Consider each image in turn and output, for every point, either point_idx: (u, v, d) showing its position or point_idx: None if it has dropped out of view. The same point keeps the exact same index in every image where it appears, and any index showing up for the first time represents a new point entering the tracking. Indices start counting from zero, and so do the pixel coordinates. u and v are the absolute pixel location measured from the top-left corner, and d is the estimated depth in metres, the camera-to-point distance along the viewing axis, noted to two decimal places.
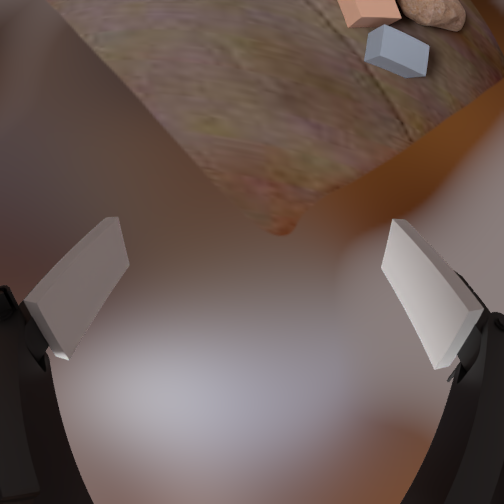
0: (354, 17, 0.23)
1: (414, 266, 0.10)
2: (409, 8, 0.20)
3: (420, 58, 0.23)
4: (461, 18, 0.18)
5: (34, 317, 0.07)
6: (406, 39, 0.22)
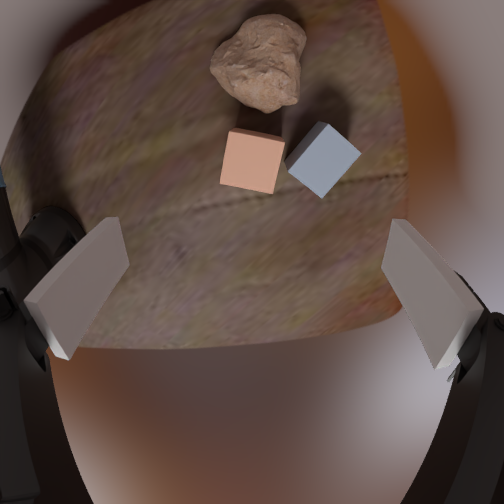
0: None
1: (413, 265, 0.10)
2: (269, 108, 0.27)
3: (340, 148, 0.27)
4: (293, 34, 0.21)
5: (34, 317, 0.07)
6: (312, 153, 0.28)
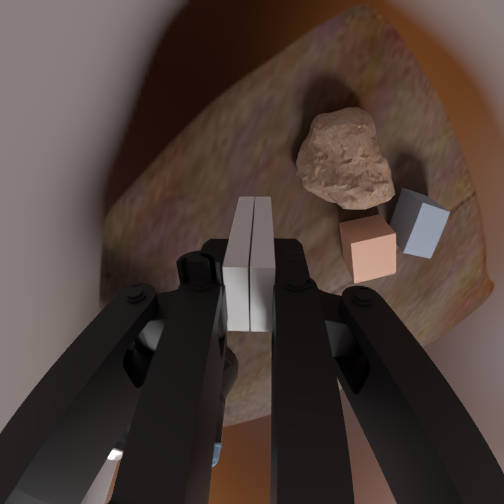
0: None
1: None
2: None
3: (435, 216, 0.29)
4: (371, 132, 0.25)
5: (228, 286, 0.09)
6: (417, 231, 0.30)
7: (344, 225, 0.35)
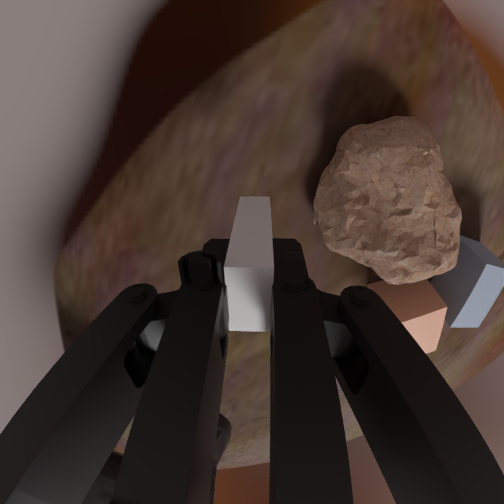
0: None
1: None
2: None
3: (495, 279, 0.17)
4: (440, 162, 0.13)
5: (230, 286, 0.09)
6: (472, 300, 0.18)
7: (375, 289, 0.24)
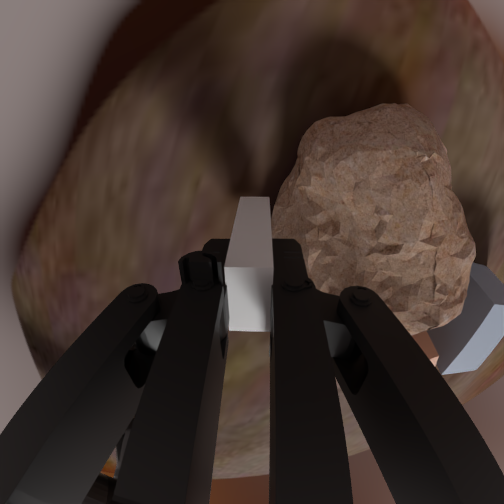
0: None
1: None
2: None
3: (503, 319, 0.13)
4: (447, 171, 0.09)
5: (230, 286, 0.09)
6: (472, 344, 0.14)
7: None
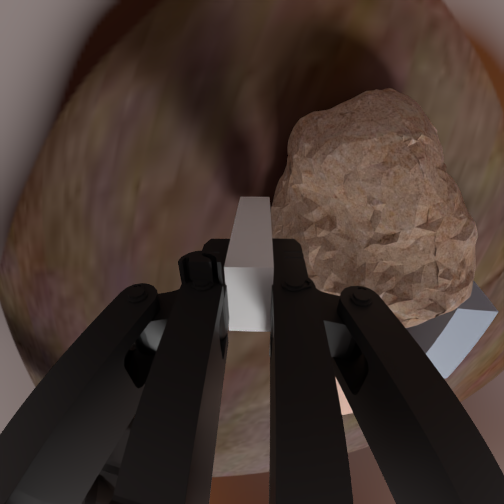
0: None
1: None
2: None
3: (472, 324, 0.13)
4: (438, 152, 0.08)
5: (230, 286, 0.09)
6: (435, 352, 0.14)
7: None
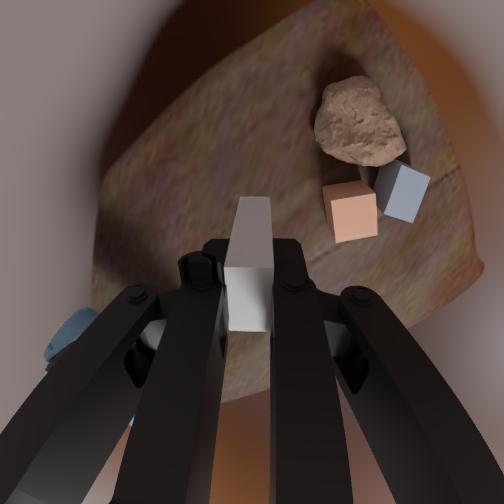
0: None
1: None
2: (387, 162, 0.31)
3: (415, 179, 0.30)
4: (377, 94, 0.25)
5: (230, 286, 0.09)
6: (397, 192, 0.31)
7: (326, 188, 0.37)
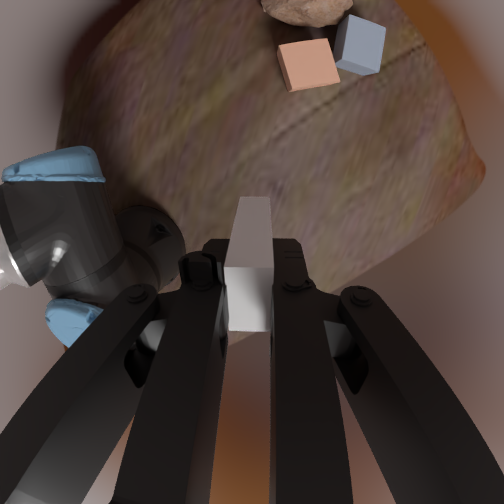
0: None
1: None
2: (338, 17, 0.24)
3: (369, 28, 0.23)
4: None
5: (230, 286, 0.09)
6: (352, 39, 0.24)
7: None
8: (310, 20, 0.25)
